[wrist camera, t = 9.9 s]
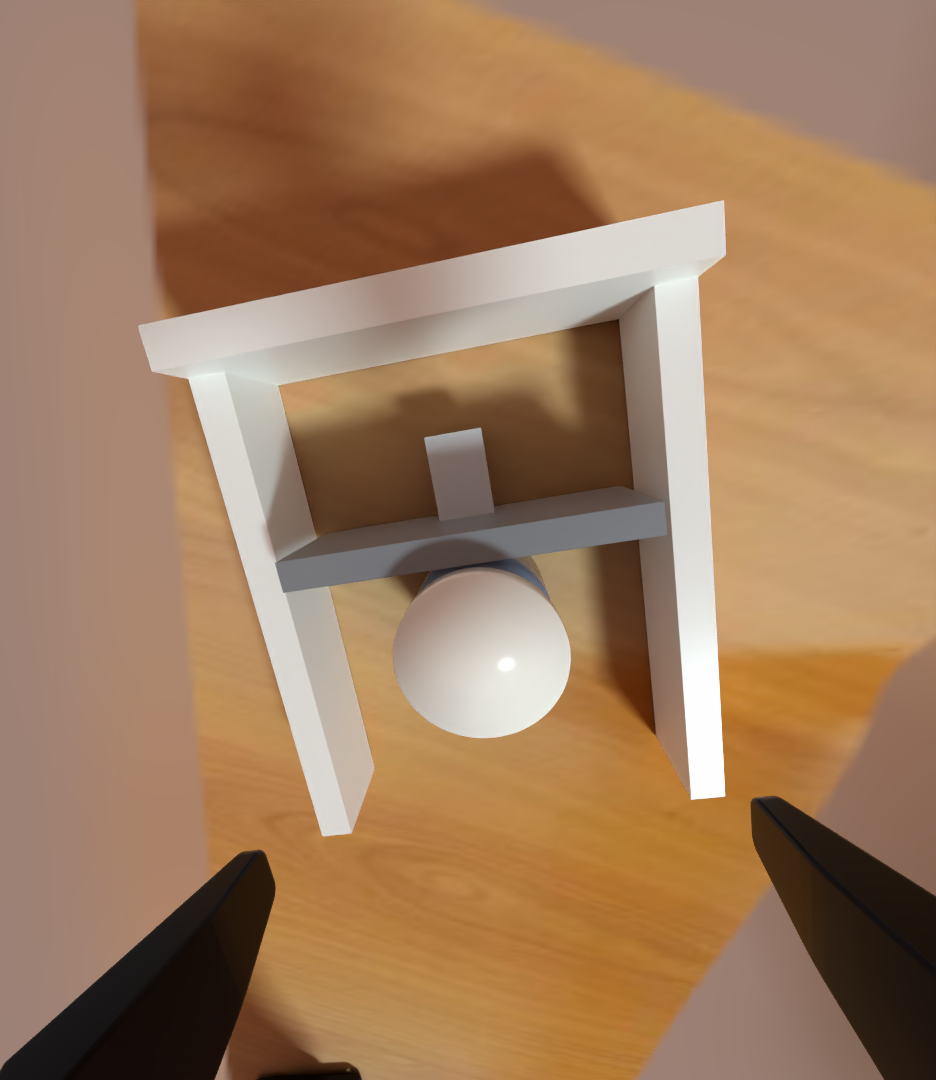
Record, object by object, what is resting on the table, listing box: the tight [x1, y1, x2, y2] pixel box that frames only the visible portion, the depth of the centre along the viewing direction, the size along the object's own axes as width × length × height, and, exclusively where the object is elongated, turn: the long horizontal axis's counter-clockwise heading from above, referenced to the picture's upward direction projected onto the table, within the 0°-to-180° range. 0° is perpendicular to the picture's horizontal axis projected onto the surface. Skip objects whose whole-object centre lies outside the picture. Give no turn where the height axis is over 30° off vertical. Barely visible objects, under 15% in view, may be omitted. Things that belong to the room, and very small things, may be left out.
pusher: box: [275, 428, 667, 593], centre depth 15 cm, size 4×12×4 cm, turn 100°
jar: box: [393, 556, 571, 738], centre depth 16 cm, size 5×5×6 cm
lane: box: [138, 200, 726, 836], centre depth 16 cm, size 19×15×5 cm
